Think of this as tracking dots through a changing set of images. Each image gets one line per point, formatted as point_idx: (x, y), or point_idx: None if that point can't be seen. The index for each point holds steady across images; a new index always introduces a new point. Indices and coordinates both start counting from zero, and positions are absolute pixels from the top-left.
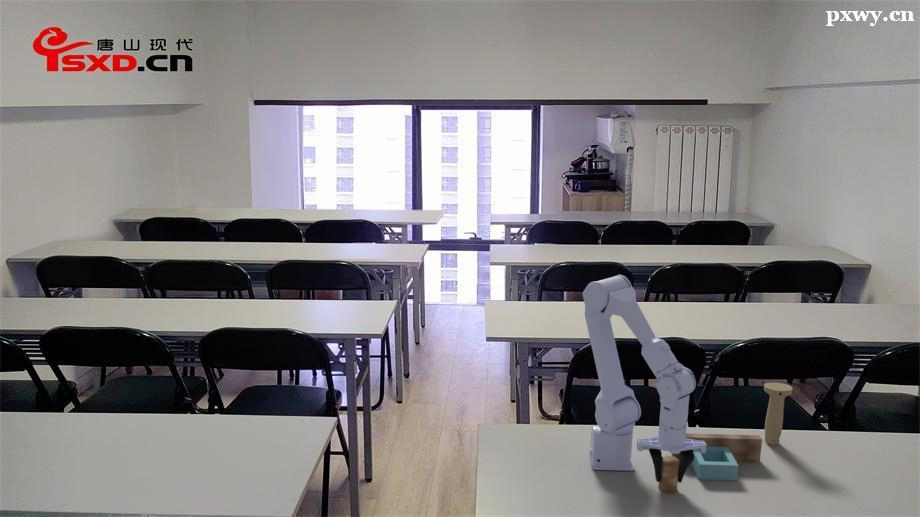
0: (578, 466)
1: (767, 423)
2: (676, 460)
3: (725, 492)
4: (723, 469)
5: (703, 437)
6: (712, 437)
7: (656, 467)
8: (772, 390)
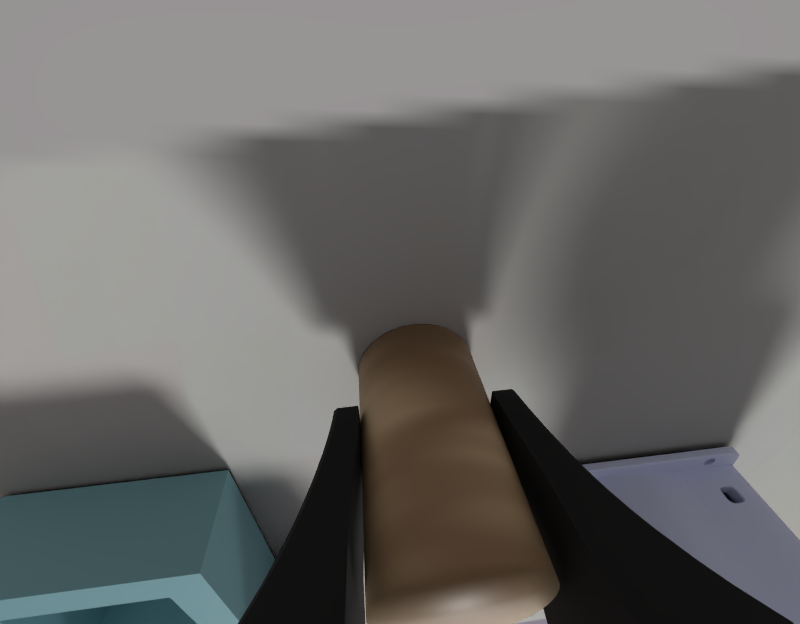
0: (774, 453)
1: None
2: (395, 618)
3: (32, 393)
4: (46, 559)
5: None
6: None
7: (611, 502)
8: None
